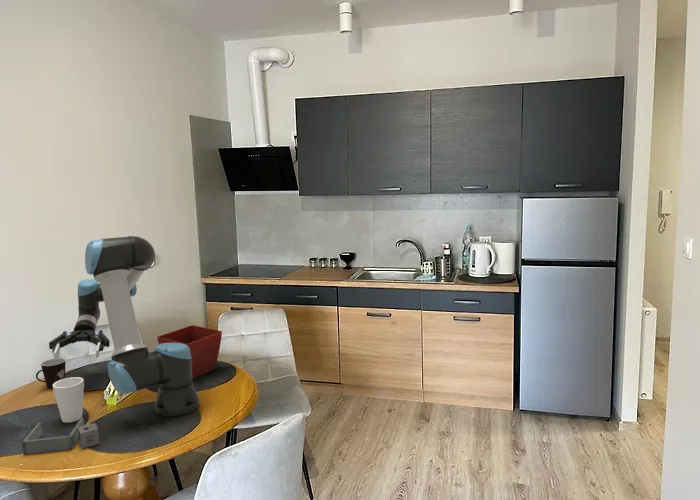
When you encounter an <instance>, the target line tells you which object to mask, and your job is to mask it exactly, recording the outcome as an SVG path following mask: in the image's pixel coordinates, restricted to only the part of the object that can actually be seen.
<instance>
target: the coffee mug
mask: <svg viewBox="0 0 700 500" xmlns="http://www.w3.org/2000/svg"><path fill="white" fill-rule="evenodd" d="M40 366H41V369H40V370H38V371H36V374H35V378H36V380H37V381H39V382H41V383H45V385H46V388H47V389H48V390H53V384H54V383H55V382H57V381H59V380H62V379H66V358H62V357H60V358H59V357H57V359H54V358H51V359H47V360H44V361H43V362H41V363H40ZM41 372H42V374H43V378H44V380H43V379H40V378H39V374H40V373H41Z"/></svg>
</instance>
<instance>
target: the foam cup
mask: <svg viewBox="0 0 700 500" xmlns="http://www.w3.org/2000/svg"><path fill="white" fill-rule="evenodd" d="M84 388H85V380H84V378H83V377H79V376H77V377H73V376H72V377H65V379H62V380H59V381H57V382H55V383H54V384H53V389H52V390H53V394H54V397H55V401H56V404H57V408H58V410H59V416H60V418H61V421H62V422H63V423H73V422H78V421H79V420H80V419H81V418H83V414H84V413H83V410H84V391H85V390H84Z"/></svg>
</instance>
